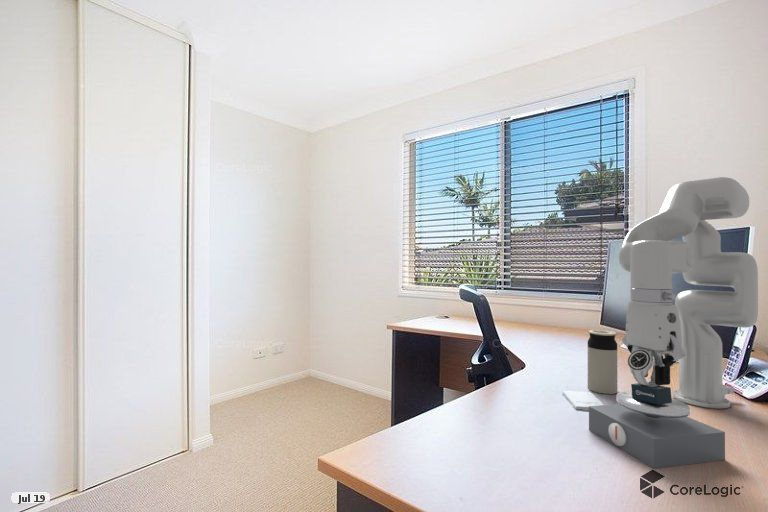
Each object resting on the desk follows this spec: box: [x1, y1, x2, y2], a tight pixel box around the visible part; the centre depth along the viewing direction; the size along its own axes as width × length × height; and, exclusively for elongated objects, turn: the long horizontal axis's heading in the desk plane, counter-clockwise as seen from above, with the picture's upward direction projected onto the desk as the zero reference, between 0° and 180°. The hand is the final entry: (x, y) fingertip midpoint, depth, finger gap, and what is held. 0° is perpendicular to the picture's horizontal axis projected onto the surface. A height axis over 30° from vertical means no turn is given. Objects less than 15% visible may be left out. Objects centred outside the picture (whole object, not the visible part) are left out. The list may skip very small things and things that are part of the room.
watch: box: [627, 348, 673, 405], centre depth 83 cm, size 6×8×11 cm
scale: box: [588, 403, 726, 469], centre depth 82 cm, size 18×17×6 cm
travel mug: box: [587, 329, 618, 395], centre depth 117 cm, size 8×8×18 cm
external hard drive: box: [562, 390, 605, 411], centre depth 107 cm, size 2×8×12 cm
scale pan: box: [615, 390, 691, 418], centre depth 83 cm, size 13×13×3 cm
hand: (651, 379), depth 83 cm, fingers open, 4 cm apart
